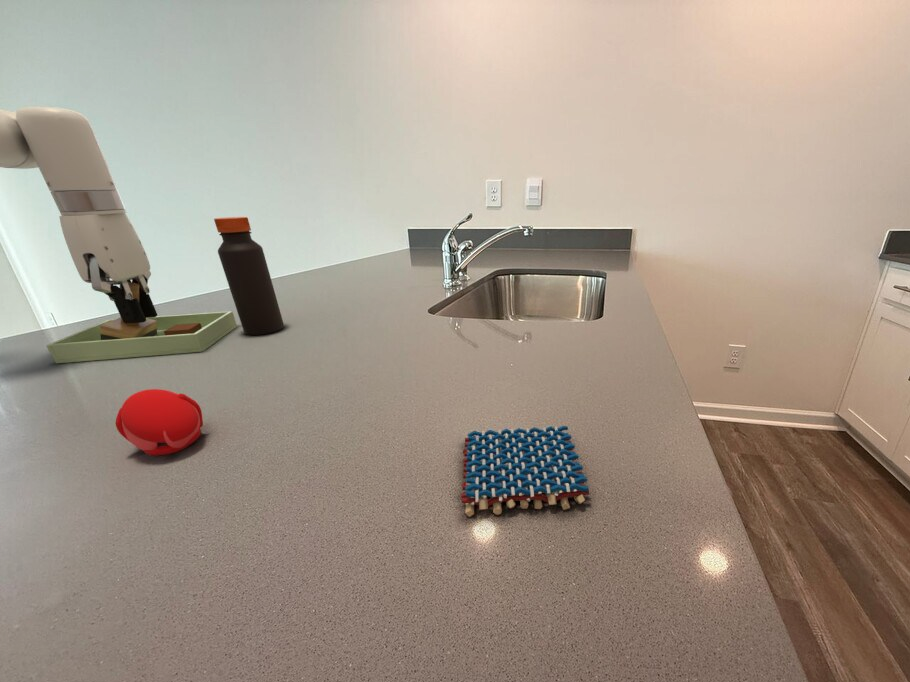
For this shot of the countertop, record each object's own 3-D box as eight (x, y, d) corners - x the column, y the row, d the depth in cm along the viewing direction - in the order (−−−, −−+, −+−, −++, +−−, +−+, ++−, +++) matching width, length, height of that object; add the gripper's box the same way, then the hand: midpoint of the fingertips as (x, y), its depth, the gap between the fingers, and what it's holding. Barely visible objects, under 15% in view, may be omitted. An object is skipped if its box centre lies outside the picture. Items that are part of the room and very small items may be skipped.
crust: (167, 342, 71) (163, 331, 70) (180, 334, 75) (175, 324, 74) (193, 340, 72) (189, 329, 71) (204, 333, 75) (200, 322, 74)
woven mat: (464, 444, 42) (462, 427, 41) (566, 438, 42) (567, 421, 41) (459, 518, 32) (458, 498, 31) (591, 509, 33) (593, 489, 32)
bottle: (272, 335, 75) (238, 218, 66) (236, 336, 75) (197, 219, 66) (291, 324, 81) (261, 216, 72) (257, 325, 81) (224, 217, 72)
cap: (226, 435, 44) (206, 385, 42) (167, 467, 39) (140, 413, 37) (179, 422, 47) (158, 375, 44) (118, 450, 42) (90, 399, 39)
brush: (133, 347, 69) (132, 292, 66) (100, 340, 68) (98, 284, 64) (157, 334, 75) (157, 283, 72) (127, 327, 74) (126, 276, 70)
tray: (55, 363, 65) (45, 345, 63) (116, 335, 77) (108, 319, 76) (202, 351, 68) (195, 334, 67) (237, 326, 81) (232, 311, 79)
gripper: (100, 203, 69) (145, 309, 77) (15, 207, 55) (82, 336, 63) (149, 202, 70) (189, 306, 78) (79, 205, 56) (136, 332, 64)
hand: (141, 318), depth 71 cm, fingers closed on brush, 2 cm apart
